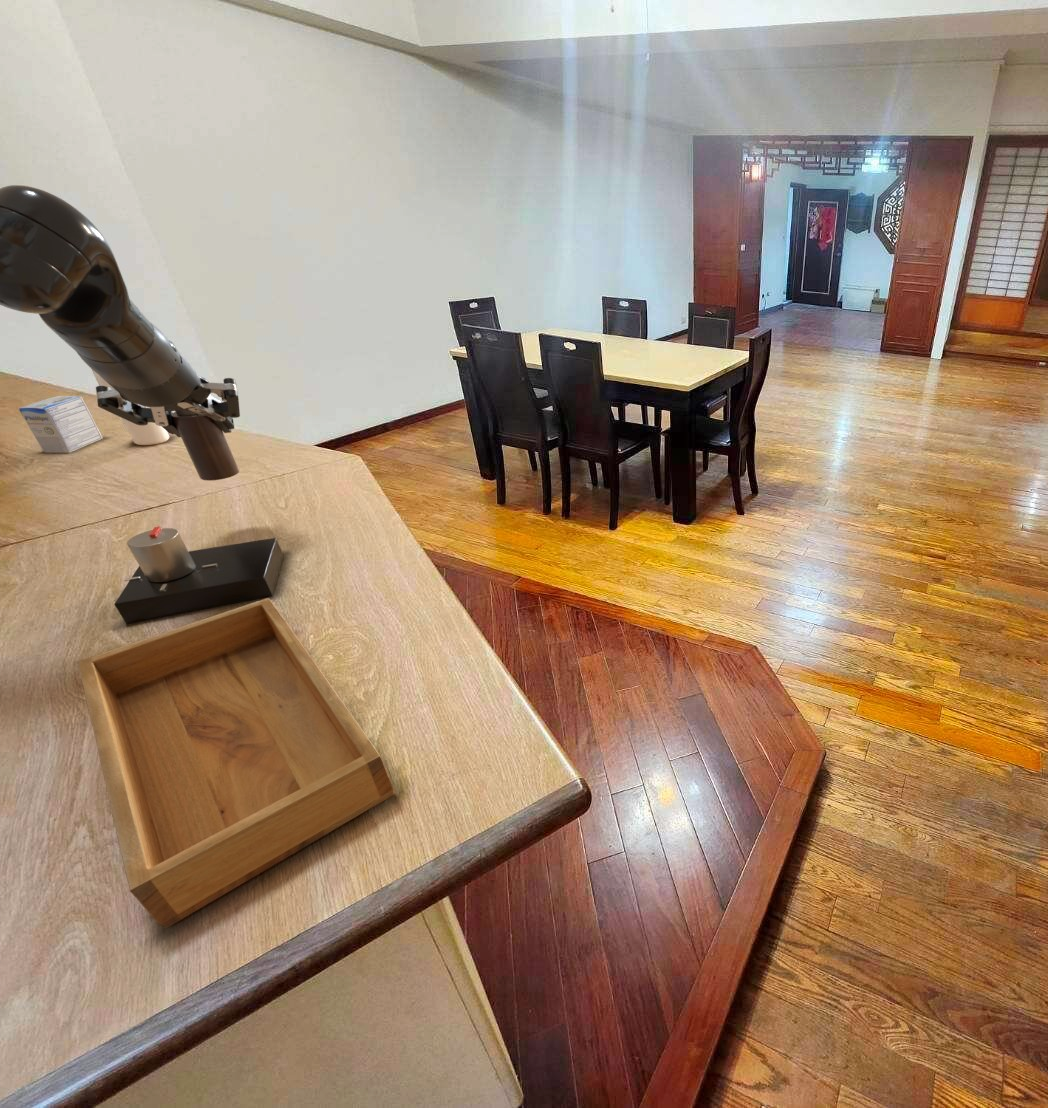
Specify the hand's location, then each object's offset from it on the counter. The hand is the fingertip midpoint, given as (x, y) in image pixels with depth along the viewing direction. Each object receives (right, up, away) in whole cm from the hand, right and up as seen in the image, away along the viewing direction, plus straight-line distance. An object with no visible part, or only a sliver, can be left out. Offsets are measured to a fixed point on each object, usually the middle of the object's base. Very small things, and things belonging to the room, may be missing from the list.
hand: (205, 428), depth 81 cm
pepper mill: (+1, -6, +2) cm, 6 cm away
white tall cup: (-42, +5, +35) cm, 55 cm away
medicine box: (-54, +3, +32) cm, 63 cm away
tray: (+28, -35, -27) cm, 53 cm away
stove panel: (+7, -22, -6) cm, 23 cm away
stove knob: (+4, -20, -9) cm, 22 cm away
